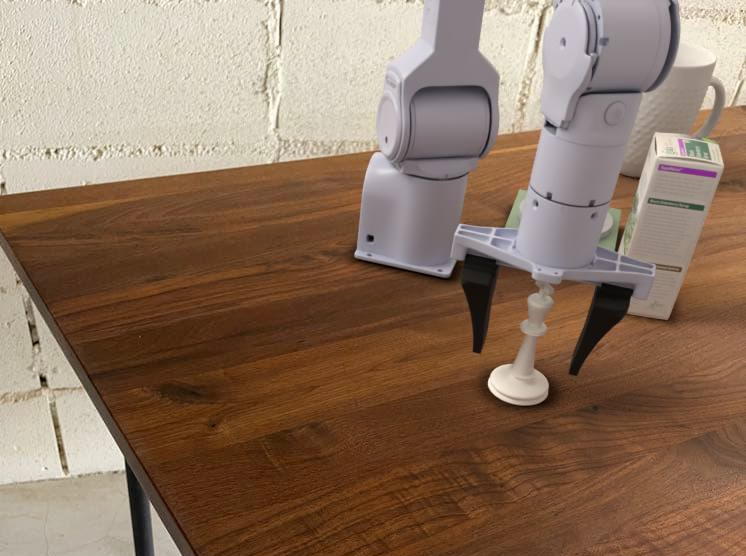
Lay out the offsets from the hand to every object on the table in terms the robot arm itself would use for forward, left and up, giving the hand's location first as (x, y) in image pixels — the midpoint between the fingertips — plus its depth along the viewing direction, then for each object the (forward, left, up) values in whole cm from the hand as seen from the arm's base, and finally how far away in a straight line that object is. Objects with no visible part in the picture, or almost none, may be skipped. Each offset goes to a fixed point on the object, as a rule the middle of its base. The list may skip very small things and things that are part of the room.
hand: (525, 357), depth 70 cm
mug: (+7, +53, -3) cm, 54 cm away
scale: (0, +29, -3) cm, 29 cm away
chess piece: (0, 0, -3) cm, 3 cm away
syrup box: (+9, +19, -3) cm, 21 cm away
